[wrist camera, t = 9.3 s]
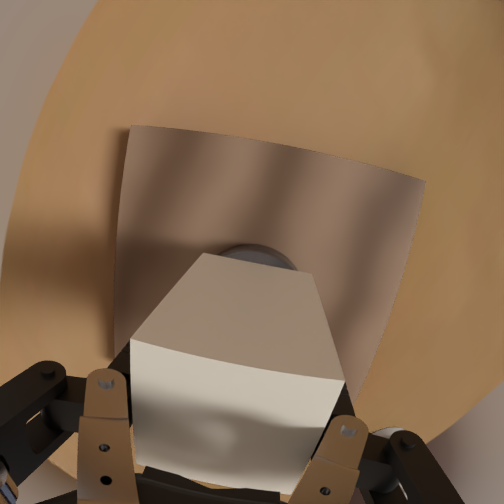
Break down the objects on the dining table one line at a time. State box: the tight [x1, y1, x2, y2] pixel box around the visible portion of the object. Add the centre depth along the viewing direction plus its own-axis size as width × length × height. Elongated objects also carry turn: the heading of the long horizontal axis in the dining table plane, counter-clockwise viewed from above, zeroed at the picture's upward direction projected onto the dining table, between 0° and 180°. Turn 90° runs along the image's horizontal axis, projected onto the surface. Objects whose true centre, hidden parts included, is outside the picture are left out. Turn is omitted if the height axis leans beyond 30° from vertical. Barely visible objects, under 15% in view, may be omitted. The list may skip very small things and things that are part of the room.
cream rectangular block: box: [130, 253, 345, 494], centre depth 13 cm, size 6×6×9 cm
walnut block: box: [114, 125, 426, 406], centre depth 20 cm, size 18×18×2 cm
